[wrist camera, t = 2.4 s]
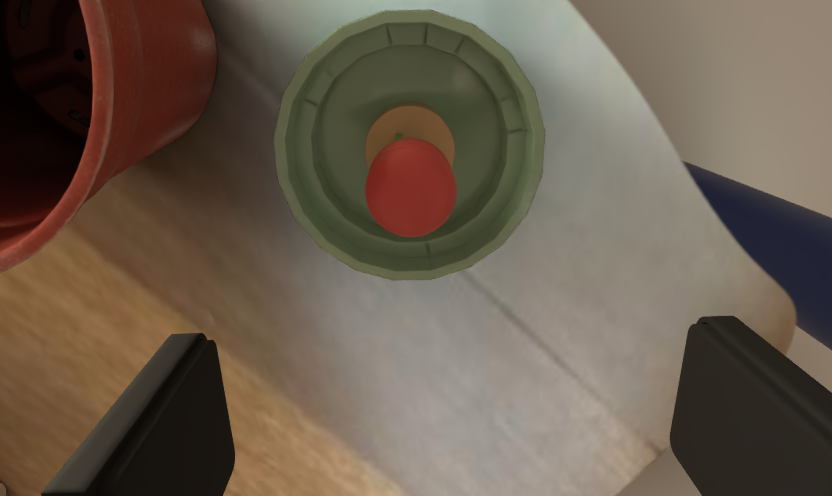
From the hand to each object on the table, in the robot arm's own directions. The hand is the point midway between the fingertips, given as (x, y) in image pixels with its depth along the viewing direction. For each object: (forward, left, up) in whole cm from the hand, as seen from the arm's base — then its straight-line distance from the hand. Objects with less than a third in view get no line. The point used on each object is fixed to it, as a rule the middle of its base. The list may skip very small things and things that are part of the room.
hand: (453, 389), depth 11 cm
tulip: (+1, -1, -23) cm, 24 cm away
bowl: (+1, -1, -24) cm, 24 cm away
